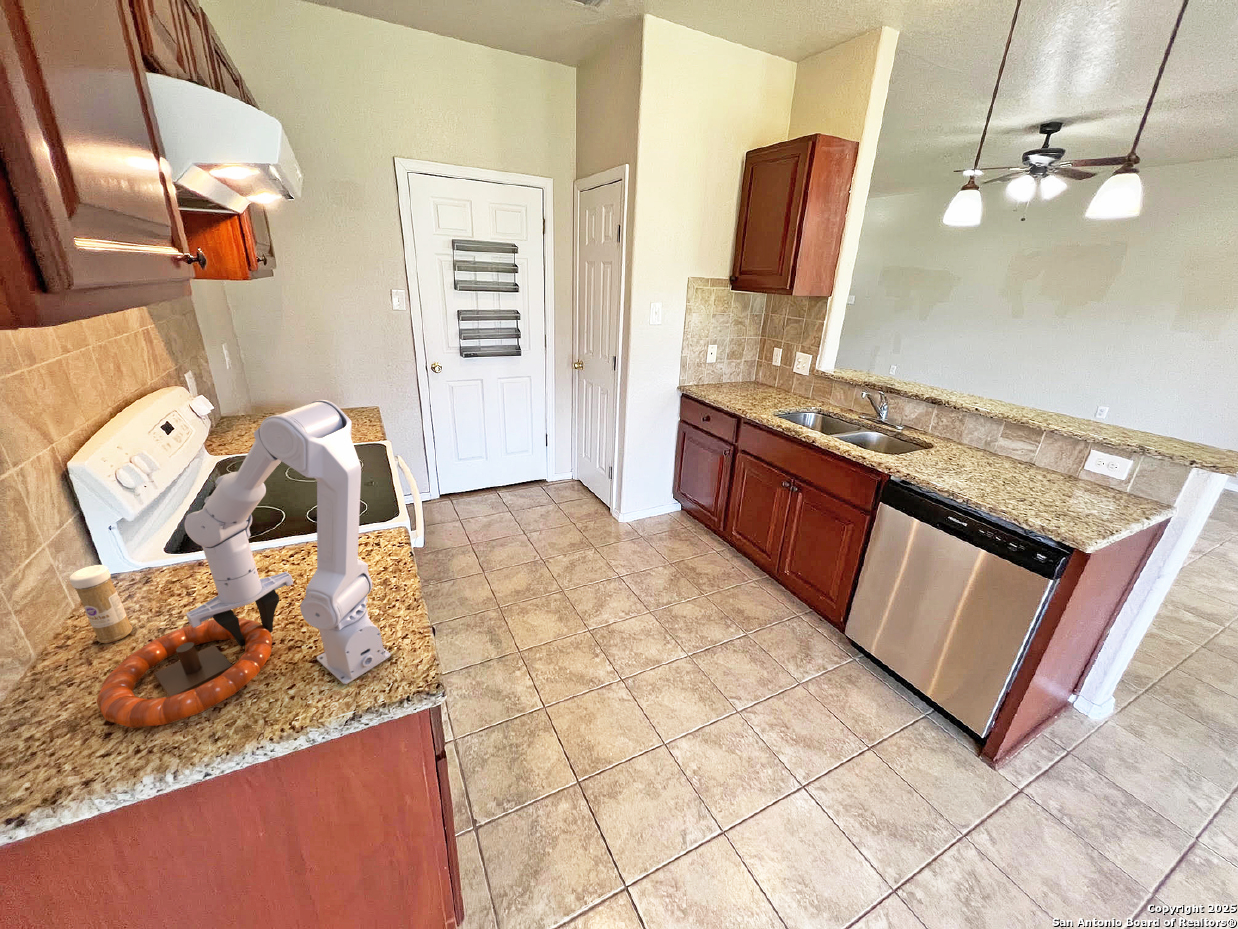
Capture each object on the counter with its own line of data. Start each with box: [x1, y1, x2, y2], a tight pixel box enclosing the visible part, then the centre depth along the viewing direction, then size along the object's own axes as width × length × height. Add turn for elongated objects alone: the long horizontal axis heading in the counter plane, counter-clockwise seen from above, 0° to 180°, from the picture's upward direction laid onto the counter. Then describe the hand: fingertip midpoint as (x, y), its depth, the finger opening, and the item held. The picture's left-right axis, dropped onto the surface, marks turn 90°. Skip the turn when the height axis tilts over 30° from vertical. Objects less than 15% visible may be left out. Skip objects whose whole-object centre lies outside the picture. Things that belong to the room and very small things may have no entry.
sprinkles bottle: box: [68, 564, 134, 644], centre depth 84 cm, size 5×5×13 cm
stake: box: [153, 642, 234, 697], centre depth 78 cm, size 8×8×6 cm
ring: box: [96, 617, 273, 729], centre depth 79 cm, size 21×21×4 cm
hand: (255, 636), depth 85 cm, fingers closed on ring, 3 cm apart
